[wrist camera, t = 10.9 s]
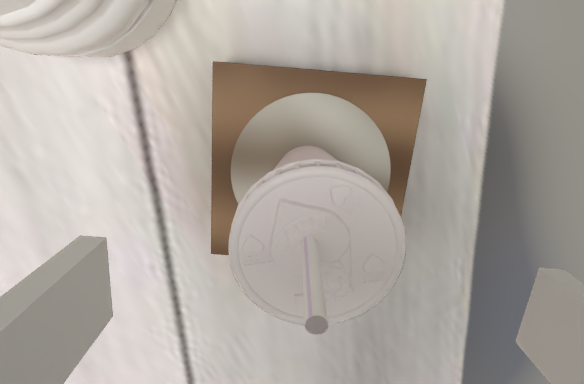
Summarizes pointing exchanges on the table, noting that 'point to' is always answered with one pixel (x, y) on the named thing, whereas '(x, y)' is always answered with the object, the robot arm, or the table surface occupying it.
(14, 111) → the table surface
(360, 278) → the smoothie
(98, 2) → the honey pot
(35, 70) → the table surface
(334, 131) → the pedestal
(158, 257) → the table surface
